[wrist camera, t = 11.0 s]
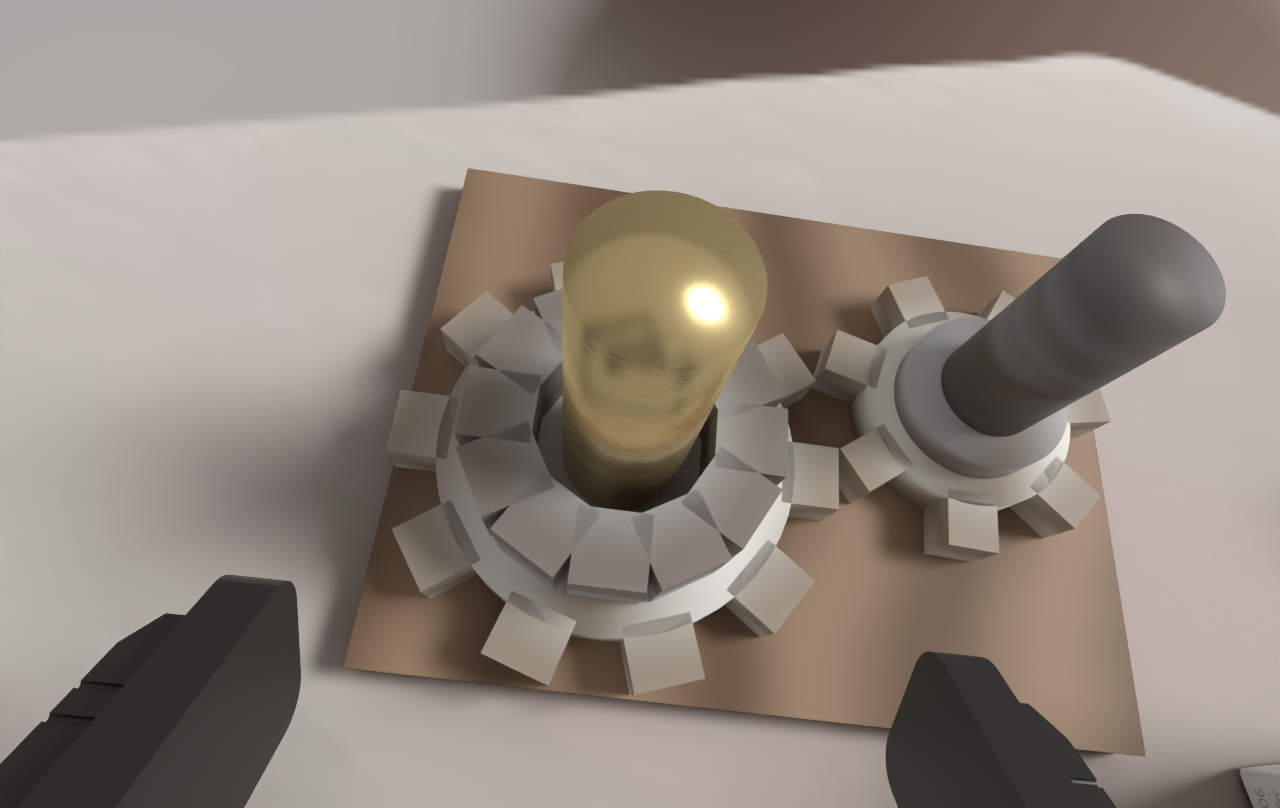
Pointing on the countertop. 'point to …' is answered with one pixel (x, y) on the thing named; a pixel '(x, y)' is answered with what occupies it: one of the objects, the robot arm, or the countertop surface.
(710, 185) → the countertop surface
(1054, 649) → the gear board
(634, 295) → the brass axle
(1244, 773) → the supplement box
